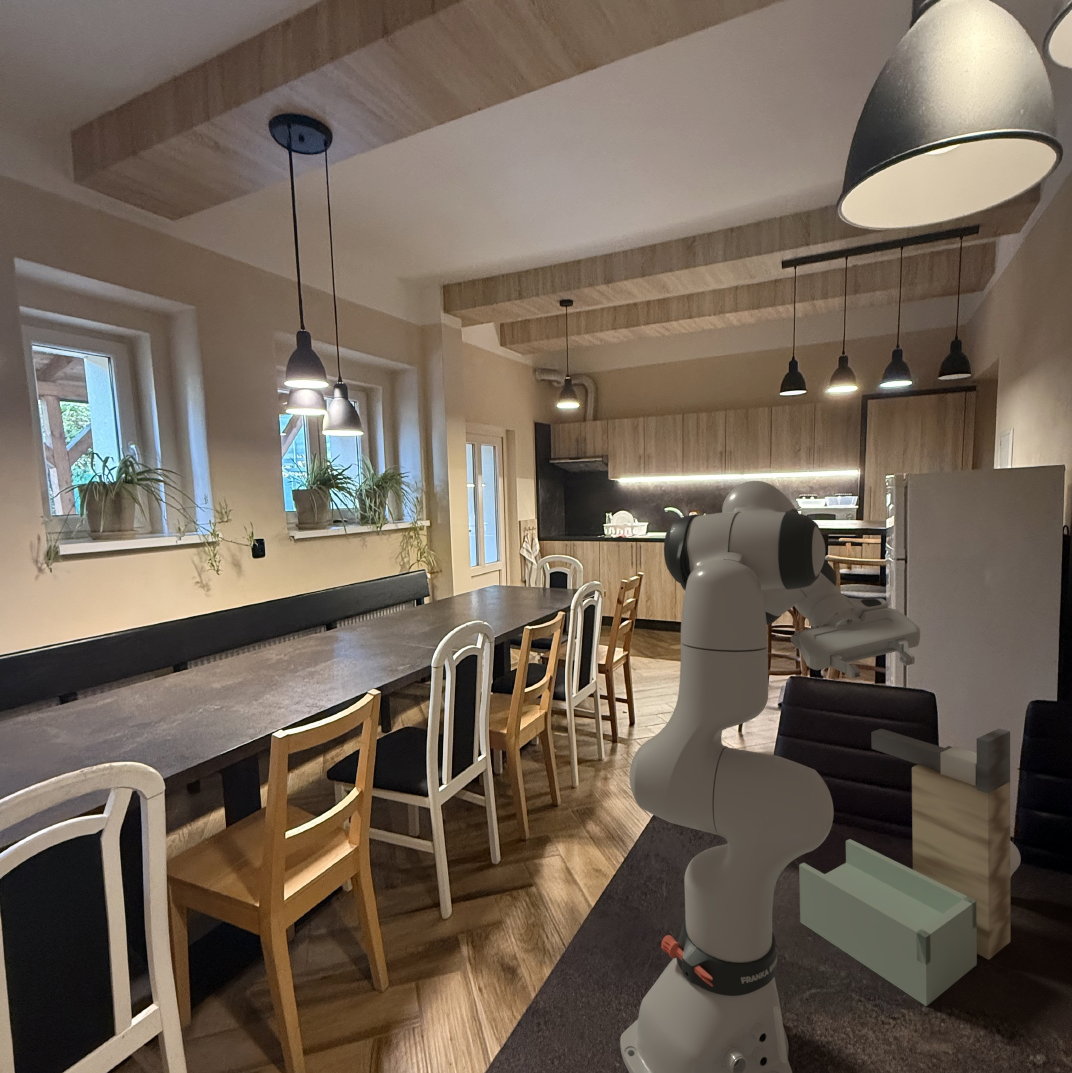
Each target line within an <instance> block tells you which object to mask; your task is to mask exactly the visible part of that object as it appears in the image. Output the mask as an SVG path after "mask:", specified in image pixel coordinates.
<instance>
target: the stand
mask: <svg viewBox="0 0 1072 1073" xmlns="http://www.w3.org/2000/svg"><path fill="white" fill-rule="evenodd" d="M976 753H977V786H974V785H971V784H968V783H966V782H963V781H960V780H957V779H954V778H951V777H948V776H945V775H942V774H941V772H938V771H936V770H933V769H930V768H927V767H924V766H922V765H919V764H916V765H914V766H912V767H911V807H912V808H911V812H912V814H911V817H912V819H911V821H912V823H911V824H912V830H911V831H912V833H911V834H912V870H914V871H917V872H919V873H921V874H923V875H925V876H927V877H929V878H931V879H933V880H935V881H937V882H939V883H941V884H943V885H945V886H947V887H949V888H951V889H953V890H955V891H957V892H959V893H962V894H964V895H966V896H968V897H970V898H972V899H974V900H976V915H977V955H979V956H981V957H982V958H984V959H987V960H988V961H989V960H991V959H992V958H993V957H994V956H996V954H998V953H999V952H1000V951H1002V950H1003V949H1004V948H1005V947H1006V946H1007V945H1008V944H1010V943H1011V879H1010V841H1011V731H1010V730H1007V729H1003V728H997V729H994V730H992V731H990V732H987V733H986V734H983V735H982V736H979V737H977V738H976Z"/></svg>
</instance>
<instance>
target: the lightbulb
mask: <svg viewBox="0 0 1072 1073" xmlns="http://www.w3.org/2000/svg"><path fill="white" fill-rule="evenodd" d="M1021 860H1022V859H1021V853H1020V850H1019V848H1018V847H1017V846H1016V844H1014V842H1013V841H1011V840H1010V880H1011V878H1012V875H1013V874H1014V872H1016V871H1017V870H1018V868H1019V866H1020V865H1021Z"/></svg>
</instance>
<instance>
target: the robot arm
mask: <svg viewBox="0 0 1072 1073" xmlns="http://www.w3.org/2000/svg"><path fill="white" fill-rule="evenodd" d="M721 511H722V512H715V513H710V514H704V515H703V514H702V515H699V514H697V513H695V514H694V513H693V514H689V515H685V516H682V517H678V518H676V519H674V521H673V522H672V523H671V524H670V526H669V527H668V529H667V530H666V534H665V535H664V536H665V537H664V540H663V541H664V544H663V556H664V564H665V566H666V569H667V571H668V573H669V574H670V575H671V577H672V578H673V579H674V580H675V581H676V582H677V583H679V584H680V586H681V587H682V589H683V591H684V596H683V602H682V610H681V622H680V668H679V669H680V670H679V671H680V672H679V682H678V683H679V685H678V686H679V687H678V695H677V700H676V705H675V707H674V710H673V712H672V713H671V717H670V718H669V719H668V722H667V723H666V724H665V726H664V727H663V728H662V729H661V730H660V731H659V732H658V733H657V734H655V735H654V736H653V737H651V738H649V739H647V740H646V741H645V742H644V743H642V744H641V745H640V747H638V750H636V751H635V754H634V755H633V758H632V760H631V763H630V768H629V786H630V790H631V793H632V796H633V798H634V800H635V802H636V804H637V805H638V807H639V808H640V809H642V810H644V811H645V812H647V813H650V814H652V815H654V816H655V817H657V818H660V819H662V820H664V821H666V822H669V823H671V824H674V825H678V826H682V827H685V828H689V829H694V830H698V831H701V832H705V833H710V834H713V835H716V836H719V837H722V838H724V839H725V840H726V842H727V843H725V844H721V845H717V846H713V847H710V848H707V849H705V850H703V851H701V852H699V853H698V854H696V855H695V856H694V857H693V858H692V859H691V860H690V862H689V863H688V865H687V867H686V869H685V873H684V878H683V879H684V880H683V882H684V905H685V906H684V907H685V908H684V911H685V918H684V920H683V923H682V925H681V926H682V927H681V929H680V934H679V938H678V941H676V940H675V938H674V937H673V936H672V935H670V934H667V935H665V936H664V937H663V939H662V941H661V945H660V947H661V949H662V951H663V952H664V953H666V954H668V955H669V957H670V958H671V959H672V960H671V961H670V962H669V963H668V964H667V966H666V967H665V969H664V970H663V971H662V972H661V974H660V976H659V977H658V978H657V979H656V981H655V982H654V984H653V985H652V987H651V988H650V989H649V990H648V992H647V993H646V994H645V995H644V997H643V999H642V1001H641V1003H640V1005H639V1009H638V1010H639V1011H638V1018H637V1019H636V1020H635V1021H634V1022H632V1024H630V1026H628V1027H627V1029H625V1030H624V1031H623V1033H621V1035H620V1042H619V1046H620V1053H621V1057H622V1060H623V1063H624V1065H625V1067H626V1069H627V1071H628V1073H793V1071H792V1068H791V1065H790V1062H789V1042H788V1040H789V1039H788V1036H787V1033H786V1030H785V1028H784V1024H783V1017H782V1016H783V1015H782V1009H781V1004H780V999H779V995H778V994H779V993H778V990H777V988H778V987H777V982H776V977H775V976H776V973H777V967H778V964H777V962H778V952H777V946H776V944H777V942H776V937H775V934H774V932H773V908H774V907H773V906H774V905H773V904H774V895H775V894H774V893H775V888H776V884H777V883H778V882H777V881H778V879H779V878H780V875H781V873H782V872H783V871H784V870H785V868H786V867H787V866H789V864H790V863H791V862H793V861H794V860H795V859H797V858H800V857H801V856H802V855H805V854H807V853H811V852H813V851H814V850H816V849H818V848H819V847H820V846H821V844H823V843H824V841H825V840H826V839H827V837H828V836H829V834H830V831H831V830H832V826H833V823H834V822H833V821H834V814H835V812H834V803H833V798H832V796H831V792H830V790H829V788H828V785H827V783H826V782H825V780H824V778H823V777H822V776H821V775H820V774H819V772H817V770H816V769H814V768H811V767H808V766H807V765H804V764H801V763H798V762H797V761H796V762H795V761H793V760H790V759H788V758H784V757H782V756H779V755H774V754H770V753H769V754H768V753H762V752H757V751H750V750H746V749H740V748H733V747H729V746H727V745H724V744H723V742H722V734H723V731H725V730H727V729H730V728H732V727H733V728H734V727H736V726H739V725H741V724H742V725H743V724H745V723H747V722H750V721H752V720H753V719H755V718H757V717H758V716H759V715H761V714H762V713H763V711H764V710H765V708H766V706H767V703H768V700H769V644H768V643H769V642H768V638H769V637H768V625H770V626H771V625H773V623H775V622H776V621H777V620H778V619H779V618H781V617H782V615H785V613H787V612H788V611H789V610H791V609H792V608H795V609H796V610H797V612H798V613H800V615H801V616H802V617H803V618H805V619H807V620H808V623H809V625H810V626H811V627H810V628H807V629H803V630H797V631H795V632H794V634H792V635H791V636H790V638H789V639H790V640H789V641H790V642H791V644H792V645H793V646H794V647H795V648H796V649H797V650H799V653H800V655H801V657H802V658H803V660H804V662H805V663H806V664H805V665H807V667H808V668H810V669H812V670H815V671H819V670H825V669H828V668H833V669H834V670H837V671H839V672H841V673H843V674H847V676H848V677H849V678H850V679H851V680H853V679H856V678H860V677H861V670H860V668H859V667H858V665H856V663H853V662H858V661H862V660H866V659H869V658H874V657H878V656H882V655H887V654H890V653H891V654H892V653H896V652H898V653H899V662H900V663H901V664H903V665H904V667H906V666H911V665H914V664H915V661H916V660H915V656H914V655H913V653H912V652H910V649H912V648H916V647H918V646H919V645H920V641H921V629H920V627H919V626H918V624H916V623H915V622H914V621H913V620H912V619H911V618H909V617H908V616H906V615H905V613H903V612H901V611H900V610H898V609H896V608H893V607H889V604H888V602H887V600H885V599H883V598H854V597H848V596H846V595H844V594H842V593H841V591H840V589H839V587H838V586H837V575H836V571H835V570H834V568H833V566H832V565H831V564H830V563H829V562H828V561H827V560H826V559H825V558H826V543H825V540H824V537H823V535H822V533H821V530H820V527H819V525H818V523H816V522H815V520H813V519H812V518H811V517H809V516H808V515H806V514H803V513H800V512H799V511H798V509H797V508H796V507H795V505H794V504H793V503H792V501H791V499H789V498H788V497H787V496H786V495H785V494H784V493H783V492H782V491H781V490H780V489H779V488H777V487H776V486H774V485H772V484H771V483H768V482H765V481H762V480H751V481H745V482H742V483H740V484H739V485H736V486H735V487H734V488H733V489H732V490H730V492H729V493H728V494H727V495H726V497H725V499H724V501H723V504H722V507H721ZM851 663H852V664H851Z"/></svg>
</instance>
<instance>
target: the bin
mask: <svg viewBox="0 0 1072 1073" xmlns="http://www.w3.org/2000/svg"><path fill="white" fill-rule="evenodd" d="M798 869H799V872H798V873H799V874H798V875H799V880H798V881H799V914H800V915H799V917H800V919H799V922H800V923H801V924H802V925H803V926H805V927H807V928H809V929H810V930H811V931H813V932H815V934H817V935H819V936H820V937H822V938H823V939H825V940H826V941H828V942H829V943H830V944H832V945H833V946H835V947H837V948H838V949H839V950H841V951H843V952H844V953H846V954H847V955H849V956H850V957H852V958H853V959H855V960H856V961H858V962H859V963H861V964H862V965H863V966H865V967H866V968H868V969H869V970H871V971H873V972H875V973H876V974H877V975H878V976H880V977H882V978H883V979H885V980H886V981H888V982H889V983H891V984H892V985H894V986H895V987H897V988H898V989H900V990H901V991H903V992H904V993H906V994H907V995H908V996H910V997H912V998H913V999H915V1000H916V1001H918V1002H919V1003H920V1004H922V1005H924V1006H925V1007H927V1006H928V1005H930V1004H932V1002H933V1001H935V1000H936V999H937V998H938V997H939V996H941V995H942V994H943V993H944V992H946V991H947V990H948V989H950V987H952V986H953V985H954V984H955V983H956V982H958V981H959V980H960V979H962V978H963V977H964V976H965V975H966V974H968V972H970V971H971V970H972V969H973V968H974V967H977V965H978V964H977V963H978V962H977V961H978V959H977V956H978V954H977V915H976V900H974V899H972V898H970V897H968V896H966V895H964V894H962V893H959V892H957V891H955V890H953V889H951V888H949V887H947V886H945V885H943V884H941V883H939V882H937V881H935V880H933V879H931V878H929V877H927V876H925V875H923V874H921V873H919V872H917V871H914V870H913V868H910V867H908V866H906V865H904V864H902V863H900V862H898V861H895V860H894V859H892V858H890V857H887V856H885V855H884V854H882V853H880V852H878V851H876V850H874V849H871V848H869V847H867V846H865V845H863V844H861V843H859V842H857V841H855V840H853V839H851V838H849V839H847V840H845V863H843V864H841V865H839V866H837V867H836V868H834V869H832V870H830V871H828V872H826V873H823V872H821V871H820V870H818V869H816V868H814V867H812V866H811V865H809V864H807V863H805V862H802V863H800V864H798Z"/></svg>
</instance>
